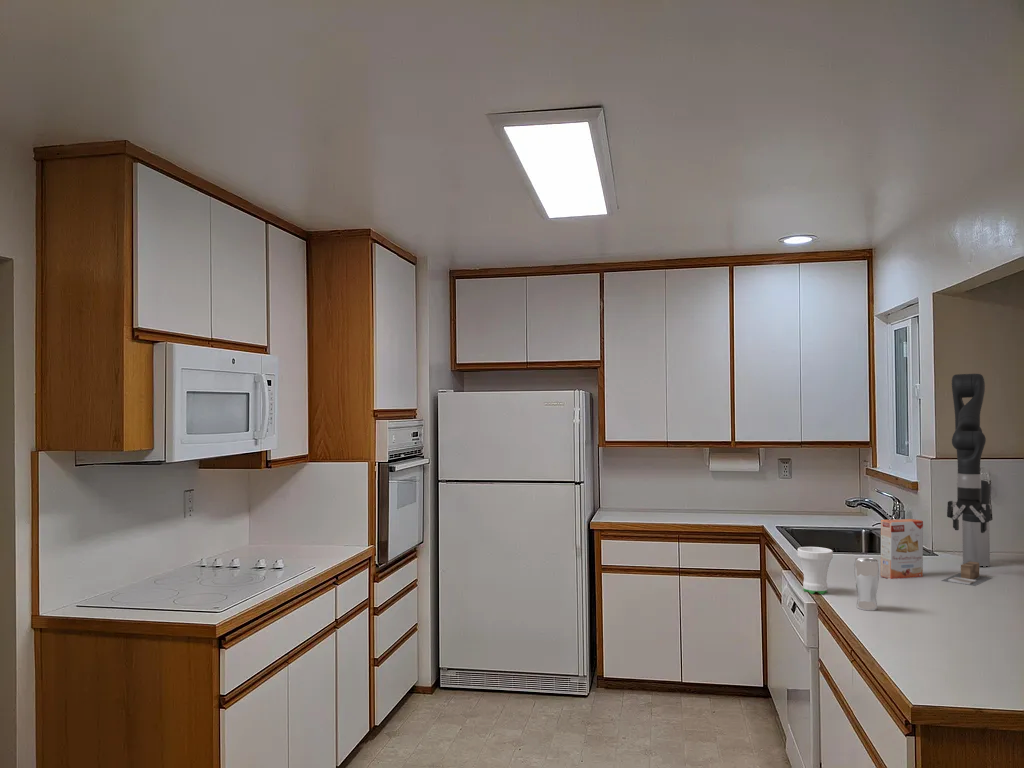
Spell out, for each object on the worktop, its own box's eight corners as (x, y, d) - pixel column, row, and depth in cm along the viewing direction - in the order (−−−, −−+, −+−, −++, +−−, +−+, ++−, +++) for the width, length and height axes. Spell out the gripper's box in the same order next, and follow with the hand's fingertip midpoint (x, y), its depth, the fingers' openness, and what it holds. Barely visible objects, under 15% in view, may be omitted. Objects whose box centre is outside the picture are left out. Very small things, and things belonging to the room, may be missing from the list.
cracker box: (891, 580, 289) (891, 521, 290) (879, 576, 295) (879, 519, 295) (924, 578, 293) (923, 520, 293) (911, 574, 299) (911, 518, 299)
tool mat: (959, 574, 299) (959, 573, 299) (992, 579, 291) (992, 577, 291) (940, 582, 286) (940, 580, 286) (975, 587, 278) (975, 585, 278)
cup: (836, 596, 264) (835, 553, 265) (800, 595, 267) (800, 551, 267) (829, 589, 275) (829, 547, 276) (795, 587, 278) (795, 546, 278)
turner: (964, 574, 297) (964, 560, 297) (985, 577, 292) (985, 563, 292) (948, 581, 286) (947, 567, 286) (969, 584, 280) (969, 570, 281)
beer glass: (858, 604, 254) (858, 556, 255) (882, 608, 250) (881, 559, 250) (851, 608, 249) (851, 559, 249) (875, 612, 245) (875, 562, 245)
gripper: (994, 487, 290) (995, 532, 289) (951, 484, 300) (951, 528, 299) (987, 488, 284) (988, 534, 284) (944, 485, 295) (944, 530, 294)
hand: (969, 531), depth 292 cm, fingers open, 8 cm apart
